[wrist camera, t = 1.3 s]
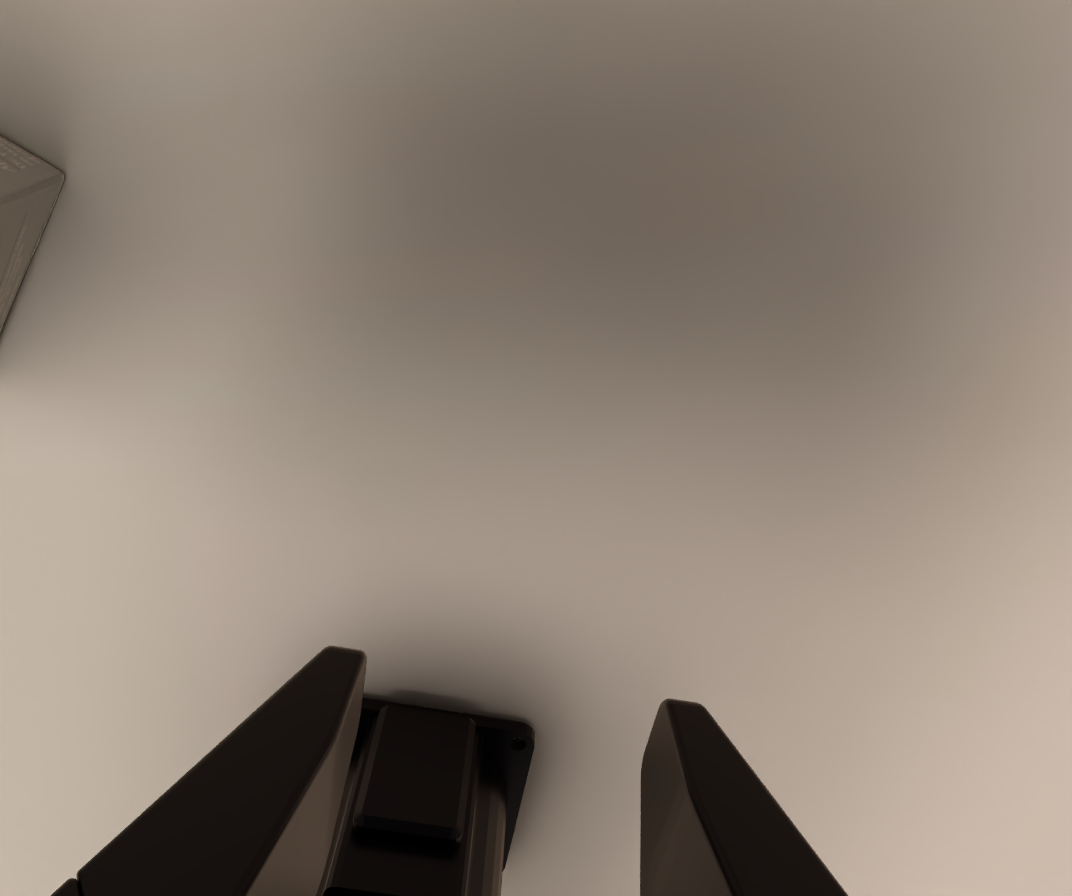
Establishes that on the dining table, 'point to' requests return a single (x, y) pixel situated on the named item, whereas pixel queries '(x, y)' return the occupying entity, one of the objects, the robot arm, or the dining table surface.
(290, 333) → the dining table surface
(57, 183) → the skincare box
